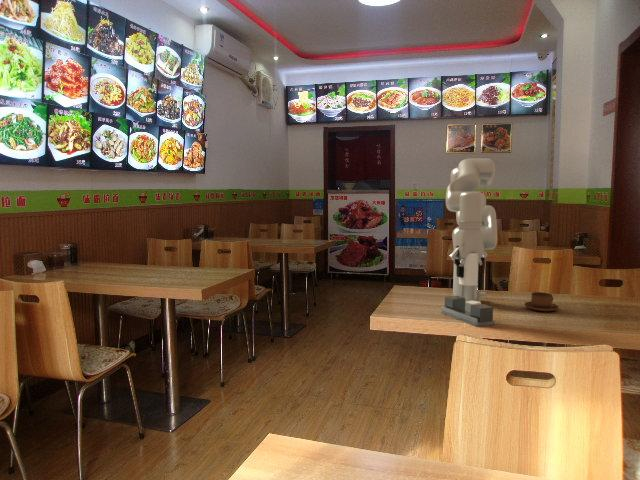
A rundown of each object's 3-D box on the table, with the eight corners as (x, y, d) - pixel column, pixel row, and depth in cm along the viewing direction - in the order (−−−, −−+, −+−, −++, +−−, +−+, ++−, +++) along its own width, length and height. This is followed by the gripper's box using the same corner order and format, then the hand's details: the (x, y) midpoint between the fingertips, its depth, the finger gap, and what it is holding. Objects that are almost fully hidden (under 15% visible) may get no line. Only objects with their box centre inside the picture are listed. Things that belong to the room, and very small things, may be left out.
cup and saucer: (532, 304, 204) (532, 289, 203) (562, 309, 195) (563, 294, 194) (519, 309, 195) (519, 294, 195) (550, 315, 187) (551, 299, 186)
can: (474, 287, 175) (476, 253, 174) (456, 285, 178) (457, 252, 177) (479, 284, 180) (480, 251, 179) (461, 282, 184) (462, 250, 183)
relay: (472, 310, 194) (472, 300, 193) (480, 312, 191) (481, 302, 190) (463, 312, 191) (464, 302, 190) (472, 314, 188) (472, 304, 187)
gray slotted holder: (458, 311, 192) (459, 295, 191) (494, 324, 173) (495, 306, 173) (441, 313, 189) (441, 297, 188) (476, 326, 170) (476, 308, 170)
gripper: (482, 225, 184) (480, 273, 186) (443, 226, 178) (441, 276, 180) (496, 226, 177) (494, 276, 179) (456, 227, 171) (454, 279, 173)
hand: (468, 276), depth 179 cm, fingers closed on can, 6 cm apart
